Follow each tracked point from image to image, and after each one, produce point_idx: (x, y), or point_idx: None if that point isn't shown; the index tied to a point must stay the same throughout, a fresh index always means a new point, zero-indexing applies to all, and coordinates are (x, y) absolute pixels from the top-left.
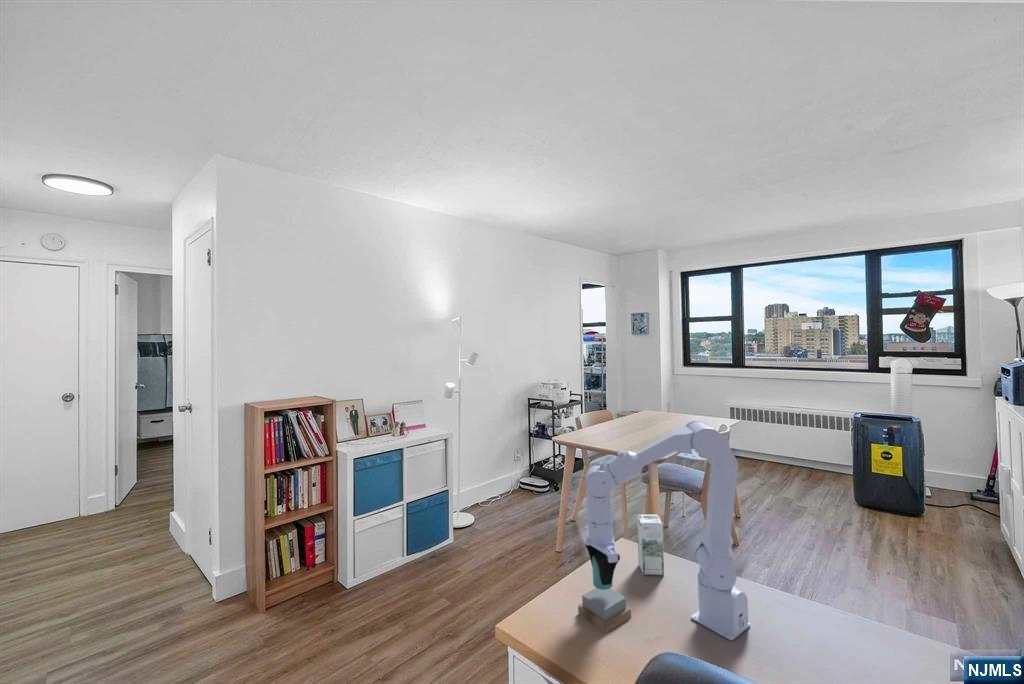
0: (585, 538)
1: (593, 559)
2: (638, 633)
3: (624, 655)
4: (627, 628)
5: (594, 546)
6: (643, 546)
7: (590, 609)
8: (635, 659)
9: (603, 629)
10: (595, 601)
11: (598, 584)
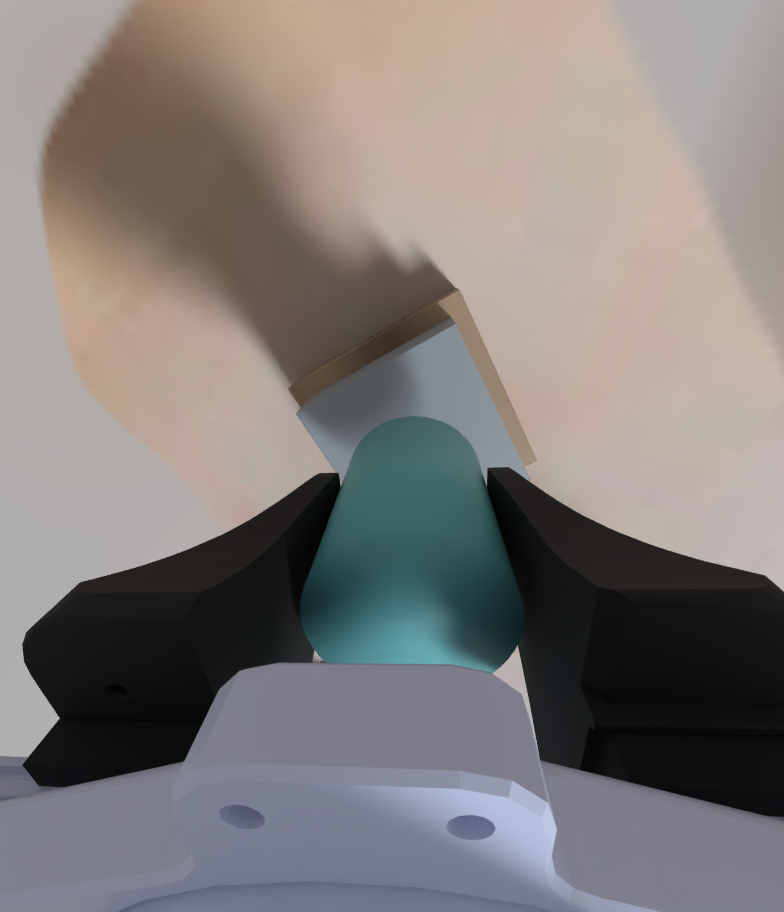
0: (536, 857)
1: (401, 538)
2: None
3: (172, 407)
4: (320, 471)
5: (99, 813)
6: None
7: (397, 349)
8: (155, 437)
9: (308, 374)
10: (378, 387)
11: (361, 448)
